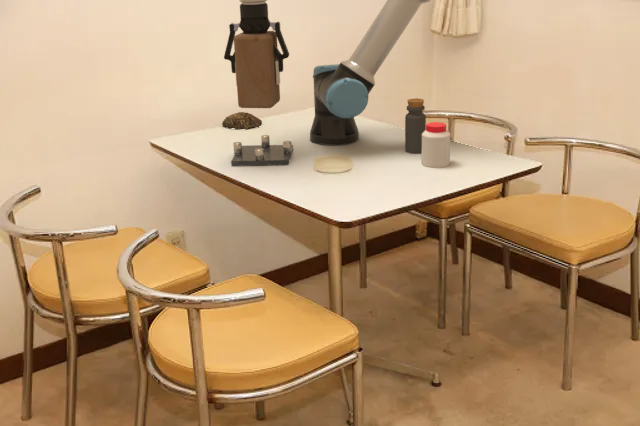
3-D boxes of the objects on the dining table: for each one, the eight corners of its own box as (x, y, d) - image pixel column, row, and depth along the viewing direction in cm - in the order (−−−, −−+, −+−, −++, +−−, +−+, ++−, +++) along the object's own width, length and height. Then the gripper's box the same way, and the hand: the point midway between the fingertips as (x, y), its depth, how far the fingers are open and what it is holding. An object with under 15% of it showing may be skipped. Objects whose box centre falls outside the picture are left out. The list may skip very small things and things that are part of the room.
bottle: (429, 150, 227) (430, 99, 222) (417, 154, 223) (417, 103, 218) (413, 147, 231) (413, 97, 226) (401, 151, 227) (401, 100, 222)
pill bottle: (432, 169, 210) (432, 129, 206) (415, 162, 216) (416, 123, 213) (455, 164, 213) (456, 125, 209) (438, 158, 220) (439, 119, 216)
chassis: (294, 149, 233) (293, 134, 232) (289, 165, 218) (288, 150, 216) (238, 150, 234) (237, 135, 233) (229, 166, 219) (228, 151, 217)
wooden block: (272, 109, 215) (268, 35, 208) (237, 108, 217) (232, 35, 210) (281, 101, 224) (277, 30, 217) (247, 100, 226) (242, 30, 219)
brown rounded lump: (217, 126, 264) (216, 112, 262) (246, 119, 272) (245, 105, 270) (240, 132, 255) (239, 118, 254) (270, 125, 263) (269, 111, 261)
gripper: (297, 0, 214) (300, 80, 221) (213, 2, 215) (219, 82, 223) (294, 2, 207) (298, 85, 214) (208, 5, 208) (215, 87, 216)
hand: (258, 84), depth 218 cm, fingers closed on wooden block, 10 cm apart
